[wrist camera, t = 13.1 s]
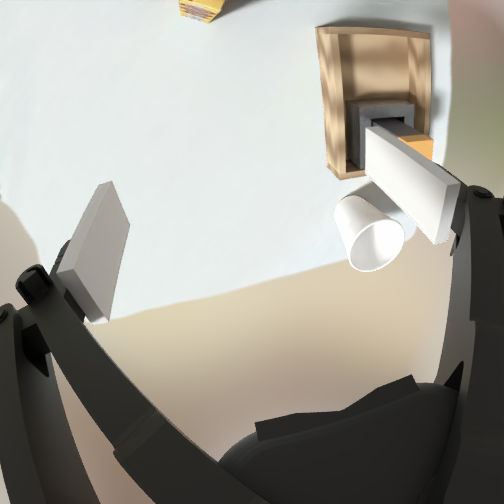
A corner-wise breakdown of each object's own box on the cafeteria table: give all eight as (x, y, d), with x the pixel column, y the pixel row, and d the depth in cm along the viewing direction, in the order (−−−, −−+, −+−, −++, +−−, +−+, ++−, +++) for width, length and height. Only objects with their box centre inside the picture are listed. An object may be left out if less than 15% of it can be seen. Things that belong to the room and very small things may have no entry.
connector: (361, 115, 42) (406, 142, 32) (385, 113, 42) (433, 139, 32) (362, 142, 44) (404, 174, 35) (385, 139, 44) (430, 170, 35)
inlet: (345, 100, 40) (359, 107, 37) (397, 97, 40) (414, 104, 37) (347, 157, 46) (360, 169, 43) (396, 150, 46) (411, 161, 43)
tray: (314, 27, 33) (329, 26, 29) (409, 31, 34) (429, 33, 30) (326, 166, 47) (339, 180, 43) (409, 154, 48) (425, 166, 44)
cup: (353, 173, 49) (386, 207, 40) (382, 205, 54) (414, 240, 45) (311, 214, 52) (335, 254, 44) (345, 241, 57) (369, 280, 49)
